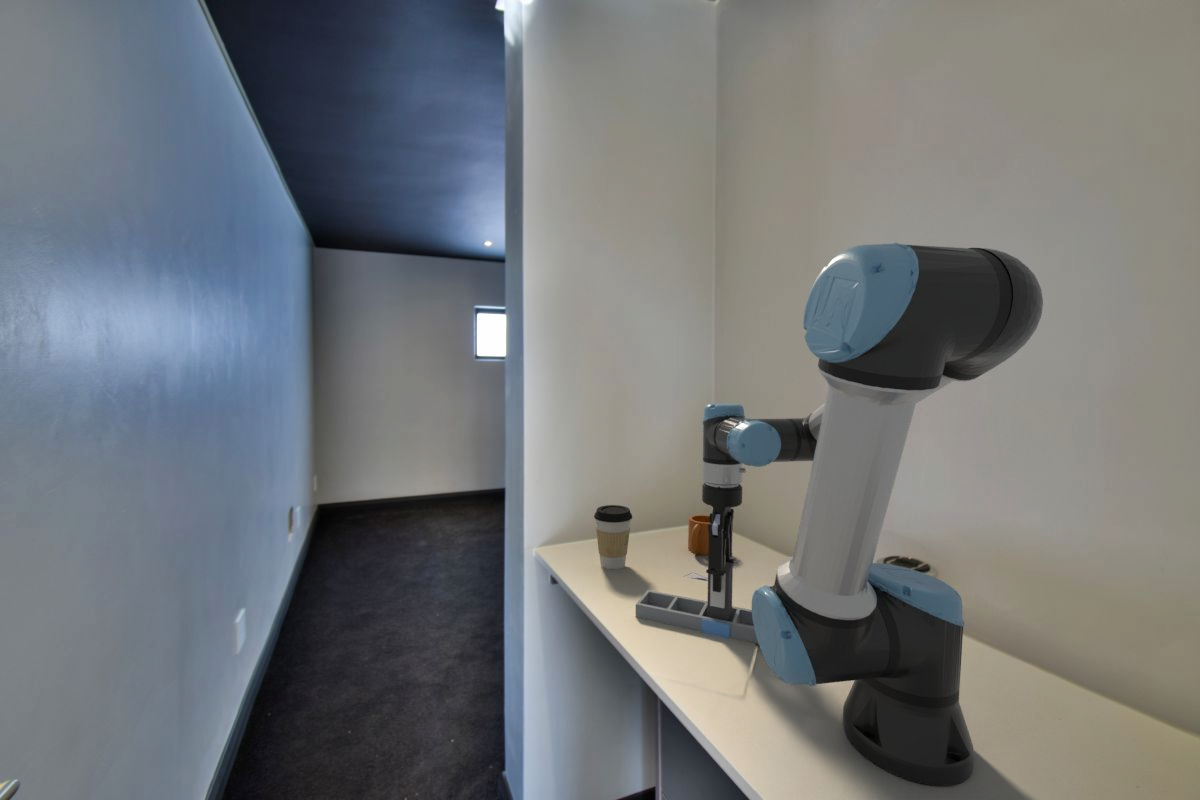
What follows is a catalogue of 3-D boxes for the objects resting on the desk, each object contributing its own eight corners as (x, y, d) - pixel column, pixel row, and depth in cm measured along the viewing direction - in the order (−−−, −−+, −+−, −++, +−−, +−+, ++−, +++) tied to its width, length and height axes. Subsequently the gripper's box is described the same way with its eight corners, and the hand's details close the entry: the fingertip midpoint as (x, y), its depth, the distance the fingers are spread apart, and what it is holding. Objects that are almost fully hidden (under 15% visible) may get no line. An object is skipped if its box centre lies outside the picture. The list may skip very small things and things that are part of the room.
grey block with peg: (728, 621, 96) (729, 560, 95) (707, 617, 97) (708, 557, 97) (731, 612, 99) (732, 553, 98) (711, 608, 101) (712, 550, 100)
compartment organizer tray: (769, 650, 91) (770, 632, 90) (635, 620, 101) (635, 604, 101) (773, 630, 98) (774, 614, 97) (647, 604, 108) (647, 589, 108)
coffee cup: (638, 564, 131) (639, 507, 130) (619, 577, 123) (620, 517, 122) (606, 556, 136) (606, 502, 135) (586, 568, 128) (586, 510, 127)
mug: (674, 552, 140) (674, 520, 140) (700, 543, 148) (700, 512, 148) (701, 560, 133) (701, 527, 133) (726, 550, 142) (726, 518, 141)
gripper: (734, 495, 87) (731, 625, 89) (748, 476, 103) (745, 587, 104) (692, 490, 90) (690, 616, 92) (712, 473, 106) (709, 581, 107)
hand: (719, 600), depth 98 cm, fingers closed on grey block with peg, 4 cm apart
